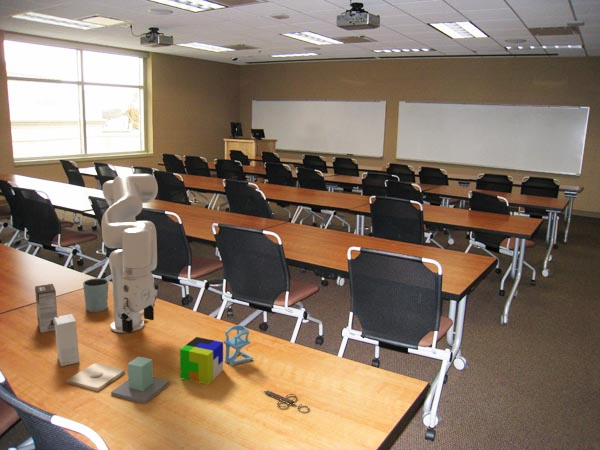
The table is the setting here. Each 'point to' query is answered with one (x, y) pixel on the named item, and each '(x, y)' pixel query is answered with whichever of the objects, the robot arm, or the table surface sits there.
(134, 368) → the teal block
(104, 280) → the teal cup
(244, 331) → the chair
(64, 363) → the skincare box
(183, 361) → the puzzle toy
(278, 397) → the syringe
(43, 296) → the coffee box
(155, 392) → the slate mat
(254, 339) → the table surface
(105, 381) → the birch pad
